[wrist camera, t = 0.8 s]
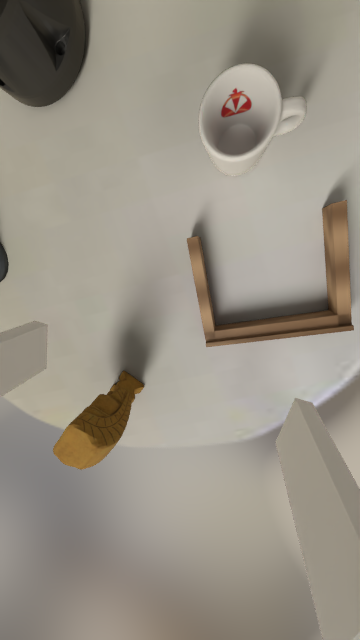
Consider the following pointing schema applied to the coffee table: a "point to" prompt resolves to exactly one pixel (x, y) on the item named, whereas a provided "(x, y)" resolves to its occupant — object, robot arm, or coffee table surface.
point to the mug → (3, 263)
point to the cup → (245, 117)
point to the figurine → (98, 425)
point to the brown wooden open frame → (290, 325)
